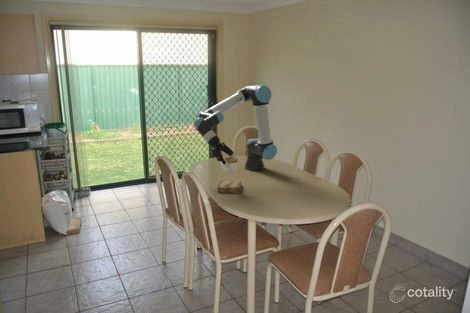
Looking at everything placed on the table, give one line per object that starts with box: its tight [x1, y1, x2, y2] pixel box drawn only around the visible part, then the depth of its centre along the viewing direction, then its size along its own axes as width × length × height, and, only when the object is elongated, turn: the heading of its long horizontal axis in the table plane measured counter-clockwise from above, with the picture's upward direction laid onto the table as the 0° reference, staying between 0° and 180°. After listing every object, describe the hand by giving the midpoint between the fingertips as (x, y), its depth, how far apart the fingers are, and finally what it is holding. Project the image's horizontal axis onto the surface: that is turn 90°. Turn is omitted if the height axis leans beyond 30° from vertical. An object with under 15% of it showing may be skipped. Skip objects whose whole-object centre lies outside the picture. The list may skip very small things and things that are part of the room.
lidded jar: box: [220, 156, 239, 174], centre depth 223 cm, size 11×11×9 cm
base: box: [217, 180, 242, 194], centre depth 226 cm, size 14×14×3 cm
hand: (233, 165), depth 222 cm, fingers closed on lidded jar, 11 cm apart
